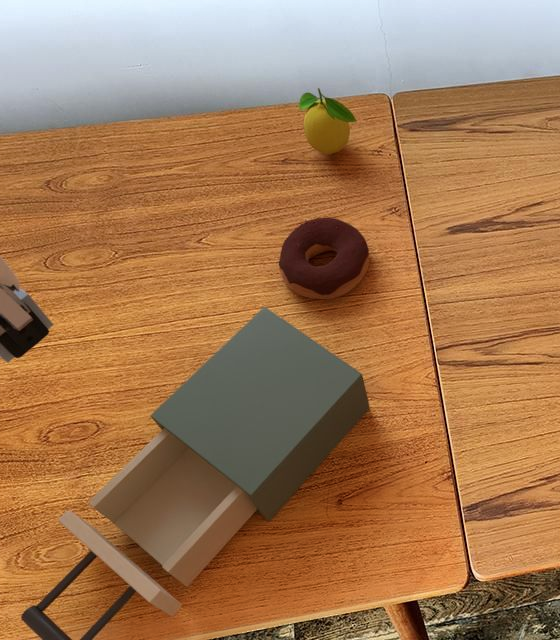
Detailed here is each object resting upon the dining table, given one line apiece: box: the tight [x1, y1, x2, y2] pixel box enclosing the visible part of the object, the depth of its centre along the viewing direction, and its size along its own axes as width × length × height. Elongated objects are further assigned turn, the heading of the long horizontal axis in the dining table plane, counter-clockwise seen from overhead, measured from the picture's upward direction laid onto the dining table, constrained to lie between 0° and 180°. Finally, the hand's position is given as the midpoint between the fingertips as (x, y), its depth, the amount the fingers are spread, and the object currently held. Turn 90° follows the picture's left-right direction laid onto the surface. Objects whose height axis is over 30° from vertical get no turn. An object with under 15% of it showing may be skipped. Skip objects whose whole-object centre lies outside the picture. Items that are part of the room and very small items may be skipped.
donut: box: [278, 216, 370, 300], centre depth 85 cm, size 10×10×4 cm
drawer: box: [20, 428, 257, 640], centre depth 66 cm, size 21×11×6 cm, turn 144°
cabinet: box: [150, 306, 371, 522], centre depth 73 cm, size 15×13×8 cm
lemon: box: [297, 87, 358, 155], centre depth 92 cm, size 7×6×10 cm
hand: (10, 326), depth 62 cm, fingers closed on block, 4 cm apart
